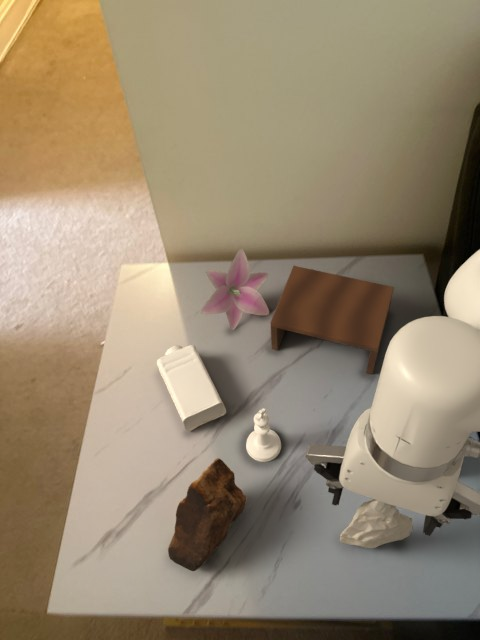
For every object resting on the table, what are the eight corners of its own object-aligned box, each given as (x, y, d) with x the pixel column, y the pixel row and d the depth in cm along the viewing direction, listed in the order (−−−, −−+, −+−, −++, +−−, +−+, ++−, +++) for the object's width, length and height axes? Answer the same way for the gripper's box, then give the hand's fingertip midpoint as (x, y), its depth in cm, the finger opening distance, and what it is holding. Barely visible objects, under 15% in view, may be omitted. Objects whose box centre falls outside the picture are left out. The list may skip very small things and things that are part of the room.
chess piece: (287, 439, 80) (287, 404, 72) (270, 468, 77) (268, 435, 69) (257, 423, 81) (253, 388, 73) (239, 451, 79) (234, 418, 71)
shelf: (387, 314, 92) (394, 286, 86) (372, 374, 85) (378, 348, 79) (293, 293, 96) (293, 265, 90) (271, 349, 89) (270, 322, 84)
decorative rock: (220, 479, 77) (212, 445, 68) (256, 505, 74) (252, 473, 66) (162, 554, 71) (145, 527, 63) (199, 584, 69) (186, 561, 60)
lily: (193, 334, 93) (206, 319, 84) (191, 267, 96) (203, 246, 87) (261, 335, 97) (281, 321, 88) (257, 270, 100) (276, 250, 91)
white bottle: (194, 350, 90) (190, 335, 87) (227, 414, 83) (224, 400, 79) (156, 366, 89) (151, 351, 85) (186, 433, 81) (181, 419, 78)
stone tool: (340, 557, 70) (351, 517, 58) (336, 532, 71) (345, 488, 59) (409, 549, 69) (434, 508, 58) (403, 524, 71) (425, 479, 59)
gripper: (525, 425, 47) (470, 499, 60) (322, 371, 51) (313, 451, 65) (520, 510, 43) (461, 569, 56) (299, 443, 47) (294, 513, 60)
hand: (382, 506), depth 60 cm, fingers open, 9 cm apart
